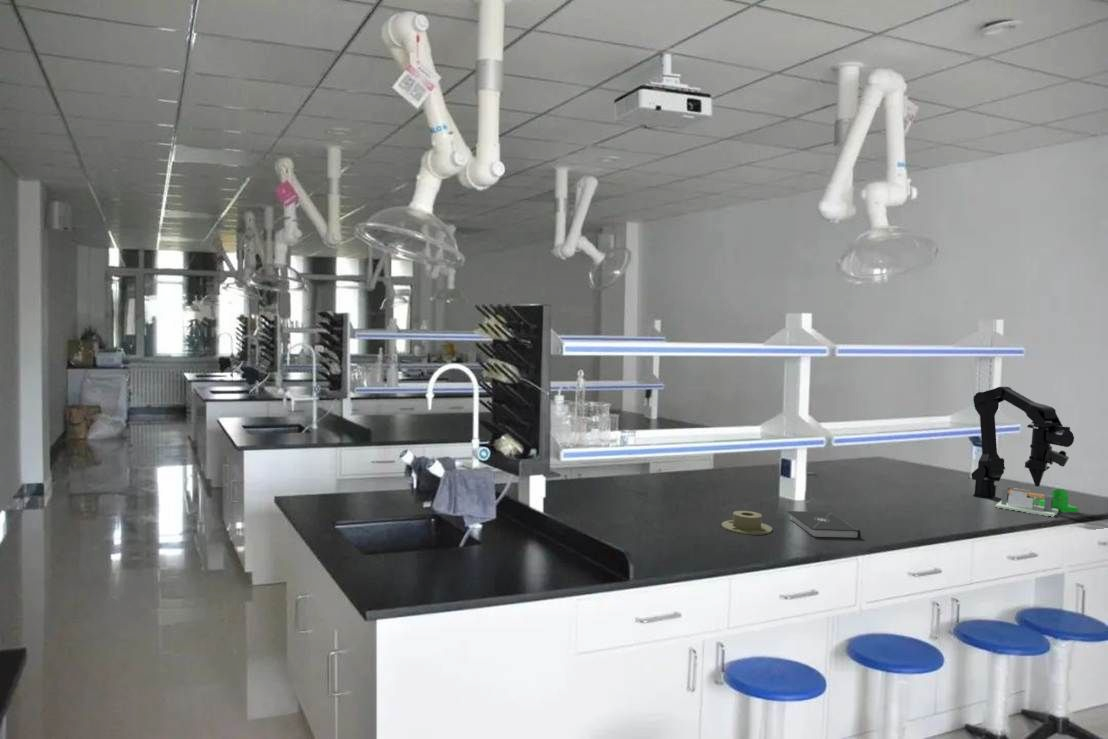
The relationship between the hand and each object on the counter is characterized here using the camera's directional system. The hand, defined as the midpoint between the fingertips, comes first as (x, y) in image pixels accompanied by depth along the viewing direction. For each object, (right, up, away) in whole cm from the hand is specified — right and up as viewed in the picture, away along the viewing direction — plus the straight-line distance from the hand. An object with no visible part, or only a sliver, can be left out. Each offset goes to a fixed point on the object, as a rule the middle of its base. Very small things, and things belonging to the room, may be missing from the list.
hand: (1037, 486), depth 288 cm
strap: (-3, -4, +3) cm, 5 cm away
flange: (-111, -8, -39) cm, 118 cm away
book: (-87, -9, -35) cm, 94 cm away
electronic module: (-2, -8, +2) cm, 8 cm away
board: (-2, -9, +2) cm, 9 cm away
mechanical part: (+11, -9, +6) cm, 16 cm away
